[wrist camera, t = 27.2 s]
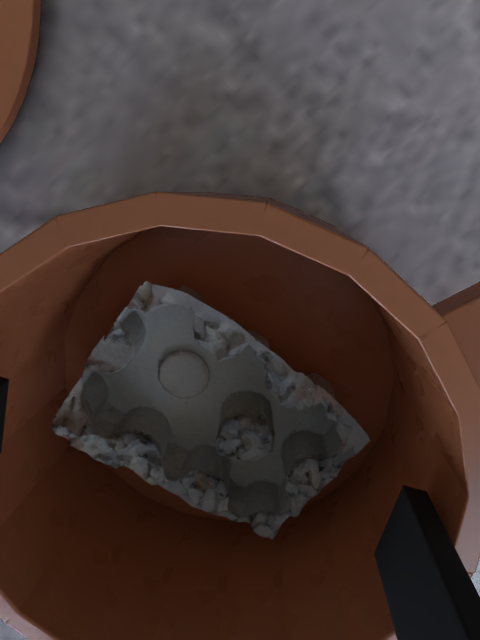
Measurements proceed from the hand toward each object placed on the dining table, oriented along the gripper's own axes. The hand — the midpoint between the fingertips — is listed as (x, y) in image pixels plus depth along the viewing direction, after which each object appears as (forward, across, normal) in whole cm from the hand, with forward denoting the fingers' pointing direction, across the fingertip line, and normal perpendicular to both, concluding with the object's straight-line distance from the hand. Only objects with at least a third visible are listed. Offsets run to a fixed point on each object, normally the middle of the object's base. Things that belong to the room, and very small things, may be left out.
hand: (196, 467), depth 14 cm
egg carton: (+6, 0, 0) cm, 6 cm away
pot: (+7, 0, 0) cm, 7 cm away
